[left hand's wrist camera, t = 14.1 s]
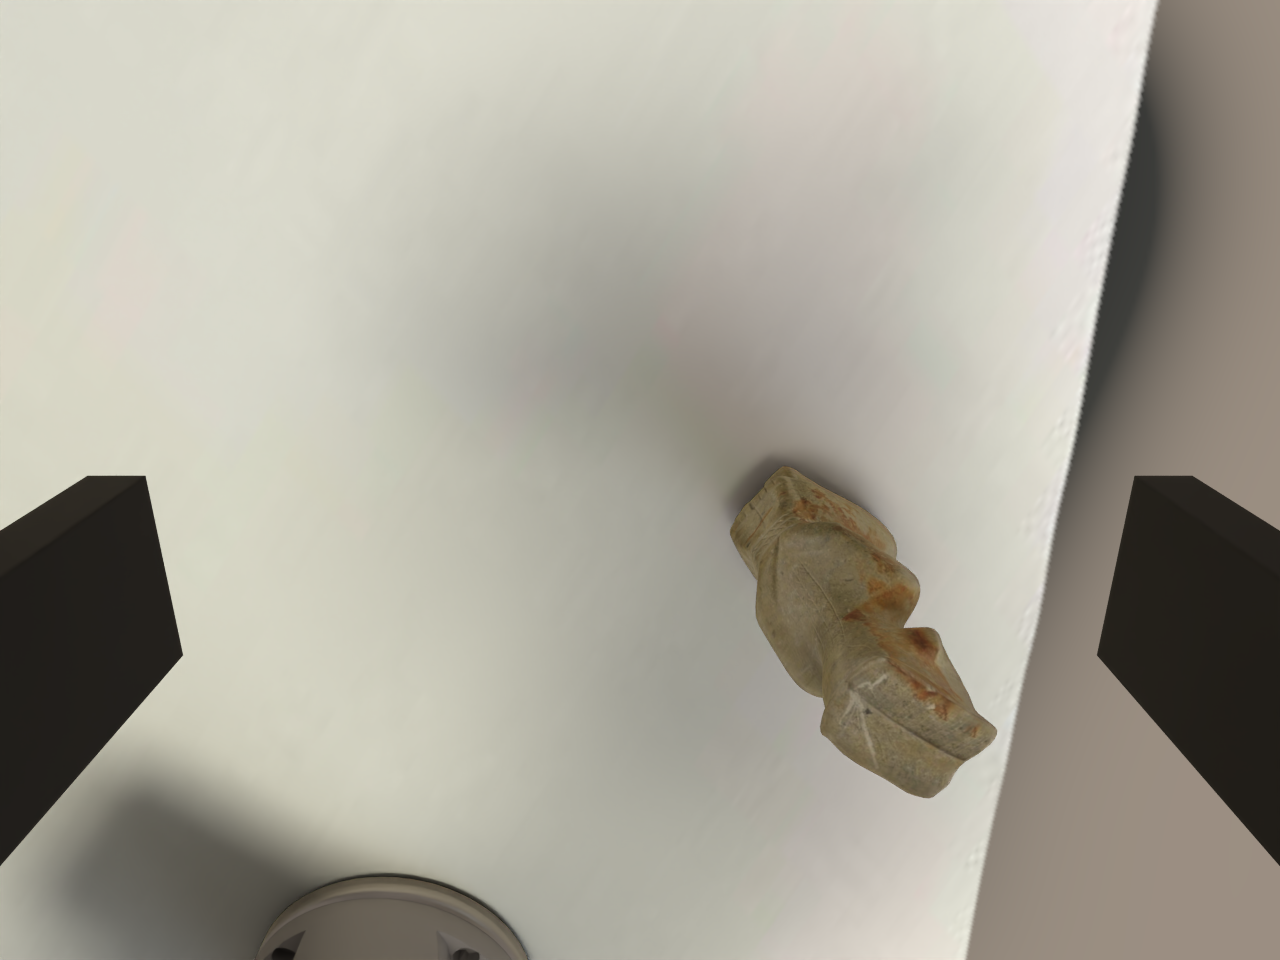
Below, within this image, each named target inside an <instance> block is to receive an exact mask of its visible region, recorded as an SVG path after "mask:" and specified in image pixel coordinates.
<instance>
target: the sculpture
mask: <svg viewBox="0 0 1280 960" xmlns="http://www.w3.org/2000/svg"><path fill="white" fill-rule="evenodd" d="M730 535H731V538H732V540H733V542H734V544H735V546H736V548H737V550H738V552H739V554H740V555H741V557H742V559H743V560H744V562H745V564H746V565H747V567H748V568H749V570H750V571H751V573H752V574H753V576H754V577H755V578H756V579H757V580H758V582H757V594H756V618H757V621H758V624H759V626H760V628H761V629H762V631H763V633H764V635H765V636H766V638H767V640H768V641H769V643H770V645H771V646H772V648H773V649H774V651H775V653H776V654H777V656H778V658H779V659H780V661H781V663H782V664H783V666H784V667H785V669H786V671H787V672H788V673H789V675H790V676H791V678H792V679H793V680H794V681H795V683H796V684H797V685H798V686H799V687H800V688H802V689H803V690H805V691H806V692H808V693H810V694H812V695H814V696H816V697H821V698H823V701H824V705H825V710H824V713H823V716H822V720H821V725H820V730H821V733H822V735H823V736H825V737H827V738H828V739H829V740H830V741H831V742H832V743H833V744H834V745H835V746H836V747H837V748H838V749H839V750H840V751H841V752H842V753H843V754H844V755H846V756H847V757H848V758H850V759H851V760H853V761H854V762H856V763H857V764H859V765H860V766H862V767H864V768H866V769H868V770H870V771H871V772H873V773H875V774H877V775H879V776H881V777H882V778H884V779H886V780H888V781H889V782H891V783H892V784H894V785H896V786H897V787H899V788H900V789H902V790H904V791H905V792H907V793H910V794H912V795H915V796H919V797H923V798H931V797H934V796H935V795H936V794H937V793H939V792H940V791H941V790H943V789H944V788H945V787H947V785H948V784H949V783H950V781H951V779H952V777H953V775H954V773H955V772H956V771H957V769H958V768H959V767H960V766H961V765H962V764H963V763H964V762H965V761H967V760H969V759H970V758H972V757H974V756H975V755H977V754H979V753H980V752H981V751H982V750H984V749H985V748H986V747H987V746H989V745H990V744H991V743H992V741H993V740H994V739H995V737H996V735H997V730H996V728H995V727H994V726H993V725H992V724H991V723H989V722H988V721H987V720H986V719H984V718H983V717H982V716H981V715H979V714H978V713H977V712H976V710H975V709H974V707H973V704H972V702H971V699H970V697H969V694H968V692H967V691H966V689H965V687H964V685H963V683H962V681H961V679H960V677H959V675H958V673H957V672H956V670H955V668H954V667H953V665H952V663H951V661H950V660H949V658H948V656H947V653H946V651H945V649H944V647H943V645H942V641H941V638H940V636H939V634H938V633H937V632H936V631H935V630H934V629H932V628H929V627H919V628H904V625H905V623H906V621H907V620H908V618H909V616H910V615H911V613H912V612H913V610H914V608H915V606H916V604H917V602H918V599H919V595H920V585H919V581H918V579H917V578H916V576H915V575H914V574H913V573H912V572H911V571H910V570H909V569H907V568H906V567H905V566H903V565H902V564H901V563H900V562H898V561H897V560H896V554H897V547H896V542H895V540H894V538H893V536H892V534H891V533H890V532H889V531H888V529H887V528H886V527H885V526H884V525H883V524H882V523H881V522H880V521H879V520H878V519H876V518H875V517H874V516H872V515H871V514H870V513H868V512H867V511H866V510H864V509H862V508H861V507H859V506H857V505H856V504H854V503H852V502H850V501H849V500H847V499H845V498H843V497H841V496H839V495H837V494H835V493H833V492H831V491H829V490H827V489H825V488H823V487H821V486H819V485H818V484H816V483H815V482H813V481H812V480H810V479H809V478H807V477H805V476H803V475H802V474H801V473H800V472H798V471H797V470H795V469H793V468H790V467H787V466H783V467H781V468H780V469H778V470H777V471H776V472H775V473H774V474H773V475H772V476H771V477H770V478H769V479H768V480H767V481H766V482H765V484H764V487H763V488H762V489H761V490H760V491H759V492H758V494H757V495H756V496H755V497H754V498H753V499H752V500H751V501H750V502H748V503H747V504H746V505H745V506H744V507H743V509H742V510H741V512H740V513H739V514H738V516H737V517H736V519H735V521H734V523H733V525H732V527H731V529H730Z"/></svg>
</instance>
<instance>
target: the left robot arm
mask: <svg viewBox="0 0 1280 960" xmlns="http://www.w3.org/2000/svg"><path fill="white" fill-rule="evenodd" d="M182 656H183V653H182V648H181V643H180V639H179V634H178V629H177V624H176V619H175V615H174V610H173V605H172V600H171V596H170V591H169V586H168V581H167V577H166V572H165V567H164V562H163V557H162V553H161V548H160V543H159V538H158V534H157V529H156V524H155V519H154V515H153V510H152V505H151V500H150V495H149V491H148V486H147V481H146V476H87V477H85V478H83V479H82V480H80V481H79V482H77V483H75V484H74V485H72V486H71V487H69V488H68V489H66V490H64V491H63V492H61V493H60V494H58V495H56V496H55V497H53V498H52V499H50V500H48V501H47V502H45V503H44V504H42V505H40V506H39V507H37V508H36V509H34V510H33V511H31V512H29V513H28V514H26V515H25V516H23V517H21V518H20V519H18V520H17V521H15V522H13V523H12V524H10V525H9V526H7V527H6V528H4V529H2V530H1V531H0V866H1V864H2V863H3V862H4V861H5V860H6V859H7V858H8V856H9V855H10V854H11V853H12V852H13V851H14V849H15V848H16V847H17V846H18V845H19V844H20V843H21V841H22V840H23V839H24V838H25V837H26V836H27V834H28V833H29V832H30V831H31V830H32V829H33V828H34V826H35V825H36V824H37V823H38V822H39V821H40V819H41V818H42V817H43V816H44V815H45V814H46V813H47V811H48V810H49V809H50V808H51V807H52V806H53V805H54V803H55V802H56V801H57V800H58V799H59V798H60V796H61V795H62V794H63V793H64V792H65V791H66V790H67V788H68V787H69V786H70V785H71V784H72V783H73V781H74V780H75V779H76V778H77V777H78V776H79V775H80V773H81V772H82V771H83V770H84V769H85V768H86V766H87V765H88V764H89V763H90V762H91V761H92V760H93V758H94V757H95V756H96V755H97V754H98V753H99V751H100V750H101V749H102V748H103V747H104V746H105V745H106V743H107V742H108V741H109V740H110V739H111V738H112V737H113V735H114V734H115V733H116V732H117V731H118V730H119V728H120V727H121V726H122V725H123V724H124V723H125V722H126V720H127V719H128V718H129V717H130V716H131V715H132V713H133V712H134V711H135V710H136V709H137V708H138V707H139V705H140V704H141V703H142V702H143V701H144V700H145V698H146V697H147V696H148V695H149V694H150V693H151V692H152V690H153V689H154V688H155V687H156V686H157V685H158V683H159V682H160V681H161V680H162V679H163V678H164V677H165V675H166V674H167V673H168V672H169V671H170V670H171V669H172V667H173V666H174V665H175V664H176V663H177V662H178V660H179V659H180V658H181V657H182ZM1097 656H1098V657H1099V658H1100V659H1101V660H1102V662H1103V663H1104V664H1105V665H1106V666H1107V667H1108V668H1109V670H1110V671H1111V672H1112V673H1113V674H1114V675H1115V677H1116V678H1117V679H1118V680H1119V681H1120V682H1121V683H1122V685H1123V686H1124V687H1125V688H1126V689H1127V690H1128V692H1129V693H1130V694H1131V695H1132V696H1133V697H1134V698H1135V700H1136V701H1137V702H1138V703H1139V704H1140V705H1141V706H1142V708H1143V709H1144V710H1145V711H1146V712H1147V713H1148V715H1149V716H1150V717H1151V718H1152V719H1153V720H1154V722H1155V723H1156V724H1157V725H1158V726H1159V727H1160V728H1161V730H1162V731H1163V732H1164V733H1165V734H1166V735H1167V736H1168V738H1169V739H1170V740H1171V741H1172V742H1173V743H1174V745H1175V746H1176V747H1177V748H1178V749H1179V750H1180V751H1181V753H1182V754H1183V755H1184V756H1185V757H1186V758H1187V760H1188V761H1189V762H1190V763H1191V764H1192V765H1193V766H1194V768H1195V769H1196V770H1197V771H1198V772H1199V773H1200V775H1201V776H1202V777H1203V778H1204V779H1205V780H1206V781H1207V783H1208V784H1209V785H1210V786H1211V787H1212V788H1213V789H1214V791H1215V792H1216V793H1217V794H1218V795H1219V796H1220V798H1221V799H1222V800H1223V801H1224V802H1225V803H1226V805H1227V806H1228V807H1229V808H1230V809H1231V810H1232V811H1233V813H1234V814H1235V815H1236V816H1237V817H1238V818H1239V819H1240V821H1241V822H1242V823H1243V824H1244V825H1245V826H1246V828H1247V829H1248V830H1249V831H1250V832H1251V833H1252V834H1253V836H1254V837H1255V838H1256V839H1257V840H1258V841H1259V843H1260V844H1261V845H1262V846H1263V847H1264V848H1265V849H1266V851H1267V852H1268V853H1269V854H1270V855H1271V856H1272V858H1273V859H1274V860H1275V861H1276V862H1277V863H1278V864H1279V866H1280V531H1279V530H1278V529H1276V528H1274V527H1273V526H1271V525H1270V524H1268V523H1267V522H1265V521H1263V520H1262V519H1260V518H1259V517H1257V516H1255V515H1254V514H1252V513H1251V512H1249V511H1247V510H1246V509H1244V508H1243V507H1241V506H1239V505H1238V504H1236V503H1235V502H1233V501H1232V500H1230V499H1228V498H1227V497H1225V496H1224V495H1222V494H1220V493H1219V492H1217V491H1216V490H1214V489H1212V488H1211V487H1209V486H1208V485H1206V484H1204V483H1203V482H1201V481H1200V480H1198V479H1197V478H1195V477H1193V476H1135V477H1134V481H1133V486H1132V491H1131V495H1130V500H1129V505H1128V510H1127V515H1126V519H1125V524H1124V529H1123V534H1122V538H1121V543H1120V548H1119V553H1118V557H1117V562H1116V567H1115V572H1114V577H1113V581H1112V586H1111V591H1110V596H1109V601H1108V605H1107V610H1106V615H1105V620H1104V624H1103V629H1102V634H1101V639H1100V643H1099V648H1098V653H1097ZM255 960H528V959H527V956H526V954H525V952H524V950H523V948H522V946H521V944H520V943H519V941H518V940H517V938H516V937H515V936H514V934H513V933H512V932H511V931H510V929H509V928H508V927H507V926H506V925H505V924H504V923H503V922H502V921H501V920H500V919H499V918H498V917H497V916H495V915H494V914H493V913H492V912H490V911H489V910H488V909H486V908H485V907H483V906H482V905H480V904H479V903H477V902H476V901H474V900H472V899H470V898H468V897H466V896H465V895H462V894H460V893H458V892H456V891H453V890H451V889H448V888H445V887H442V886H439V885H436V884H432V883H429V882H425V881H420V880H414V879H408V878H399V877H366V878H357V879H351V880H346V881H341V882H338V883H334V884H331V885H328V886H325V887H322V888H320V889H317V890H315V891H313V892H311V893H309V894H307V895H305V896H304V897H302V898H300V899H299V900H297V901H296V902H294V903H293V904H292V905H291V906H289V907H288V908H287V909H286V910H285V911H284V912H283V913H282V914H281V915H280V916H279V917H278V918H277V919H276V920H275V922H274V923H273V924H272V925H271V927H270V929H269V930H268V932H267V934H266V936H265V938H264V940H263V942H262V945H261V947H260V949H259V951H258V953H257V955H256V958H255Z"/></svg>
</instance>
